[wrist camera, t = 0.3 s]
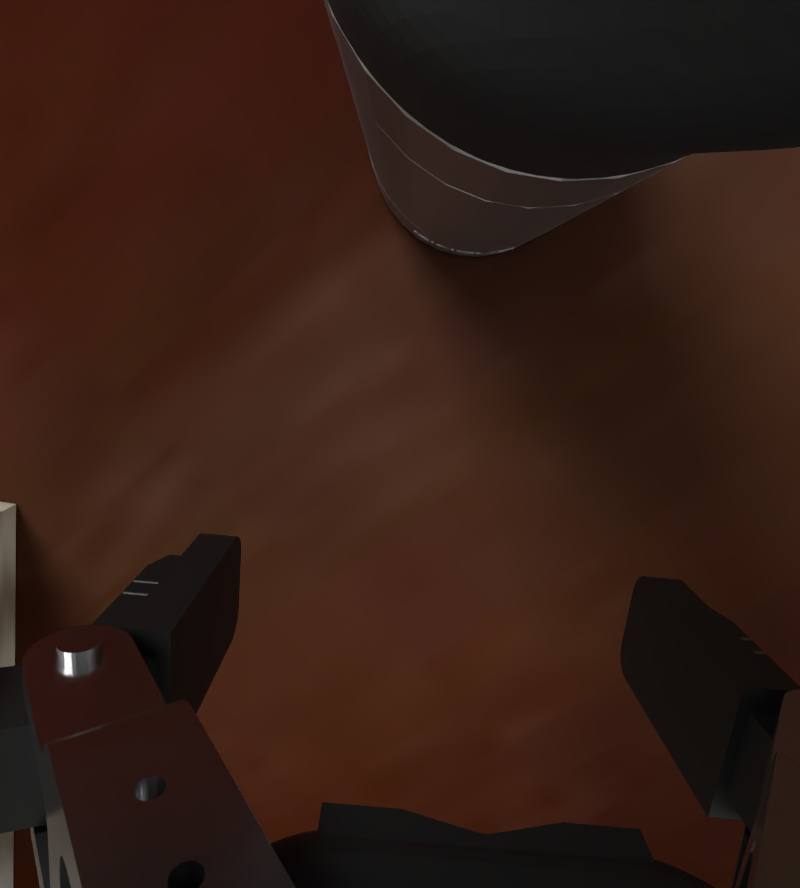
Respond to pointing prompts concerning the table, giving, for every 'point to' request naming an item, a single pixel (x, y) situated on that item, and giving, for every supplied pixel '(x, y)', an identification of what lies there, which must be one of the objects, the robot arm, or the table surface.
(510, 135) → the robot arm
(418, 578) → the table surface
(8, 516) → the stand
